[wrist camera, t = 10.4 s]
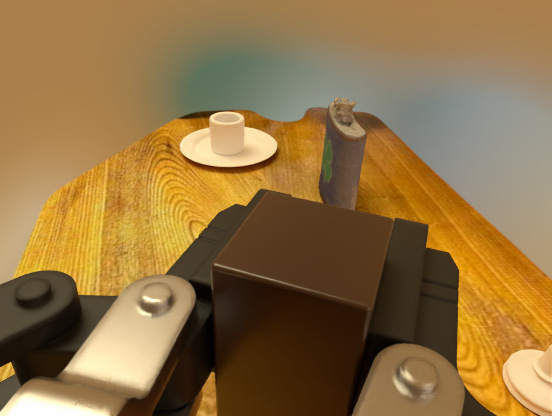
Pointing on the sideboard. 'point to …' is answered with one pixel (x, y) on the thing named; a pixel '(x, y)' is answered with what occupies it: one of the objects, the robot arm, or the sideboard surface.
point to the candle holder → (228, 143)
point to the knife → (295, 307)
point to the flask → (341, 156)
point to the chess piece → (531, 379)
